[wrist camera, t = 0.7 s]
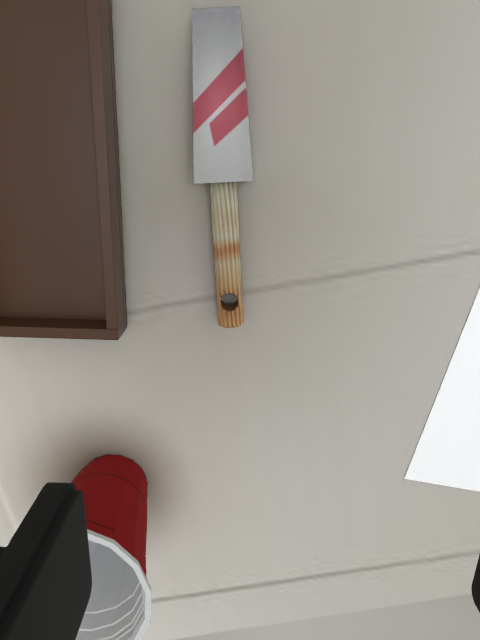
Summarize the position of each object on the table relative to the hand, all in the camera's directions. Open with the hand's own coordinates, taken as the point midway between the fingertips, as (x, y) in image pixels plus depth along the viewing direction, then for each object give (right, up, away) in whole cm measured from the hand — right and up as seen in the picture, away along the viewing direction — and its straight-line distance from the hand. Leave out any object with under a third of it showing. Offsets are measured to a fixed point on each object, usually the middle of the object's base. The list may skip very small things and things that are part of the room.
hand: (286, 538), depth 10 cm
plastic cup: (-12, -9, +29) cm, 32 cm away
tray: (-15, +17, +20) cm, 30 cm away
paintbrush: (-2, +14, +21) cm, 26 cm away
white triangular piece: (+25, -2, +26) cm, 37 cm away
